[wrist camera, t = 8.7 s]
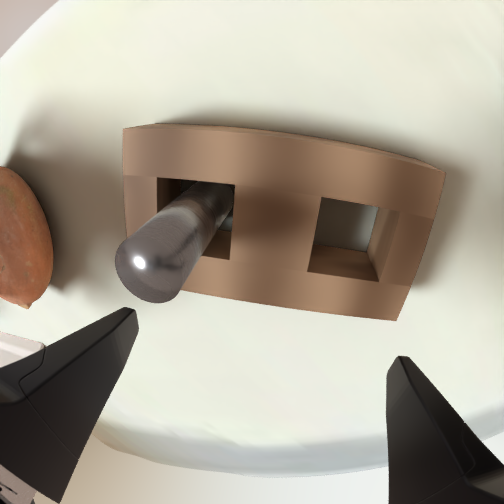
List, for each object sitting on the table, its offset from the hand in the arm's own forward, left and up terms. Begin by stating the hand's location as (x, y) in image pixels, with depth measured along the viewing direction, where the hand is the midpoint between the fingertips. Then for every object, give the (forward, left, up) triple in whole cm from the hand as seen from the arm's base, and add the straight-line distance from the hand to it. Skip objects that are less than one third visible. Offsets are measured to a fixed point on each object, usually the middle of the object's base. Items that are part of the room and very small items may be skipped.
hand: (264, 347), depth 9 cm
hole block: (0, -1, -12) cm, 12 cm away
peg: (+5, -1, -12) cm, 13 cm away
